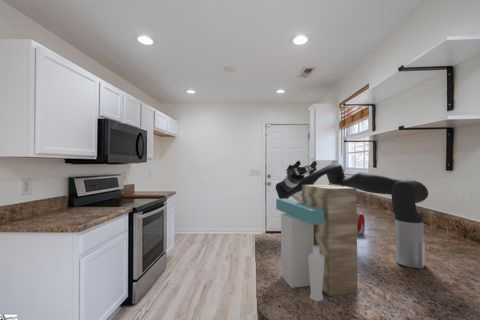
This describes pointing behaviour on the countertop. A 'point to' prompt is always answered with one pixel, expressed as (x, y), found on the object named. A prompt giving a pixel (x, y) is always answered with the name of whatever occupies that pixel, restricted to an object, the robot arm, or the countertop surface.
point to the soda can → (360, 223)
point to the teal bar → (301, 211)
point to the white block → (296, 250)
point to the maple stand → (336, 235)
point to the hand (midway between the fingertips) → (307, 162)
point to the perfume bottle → (316, 273)
